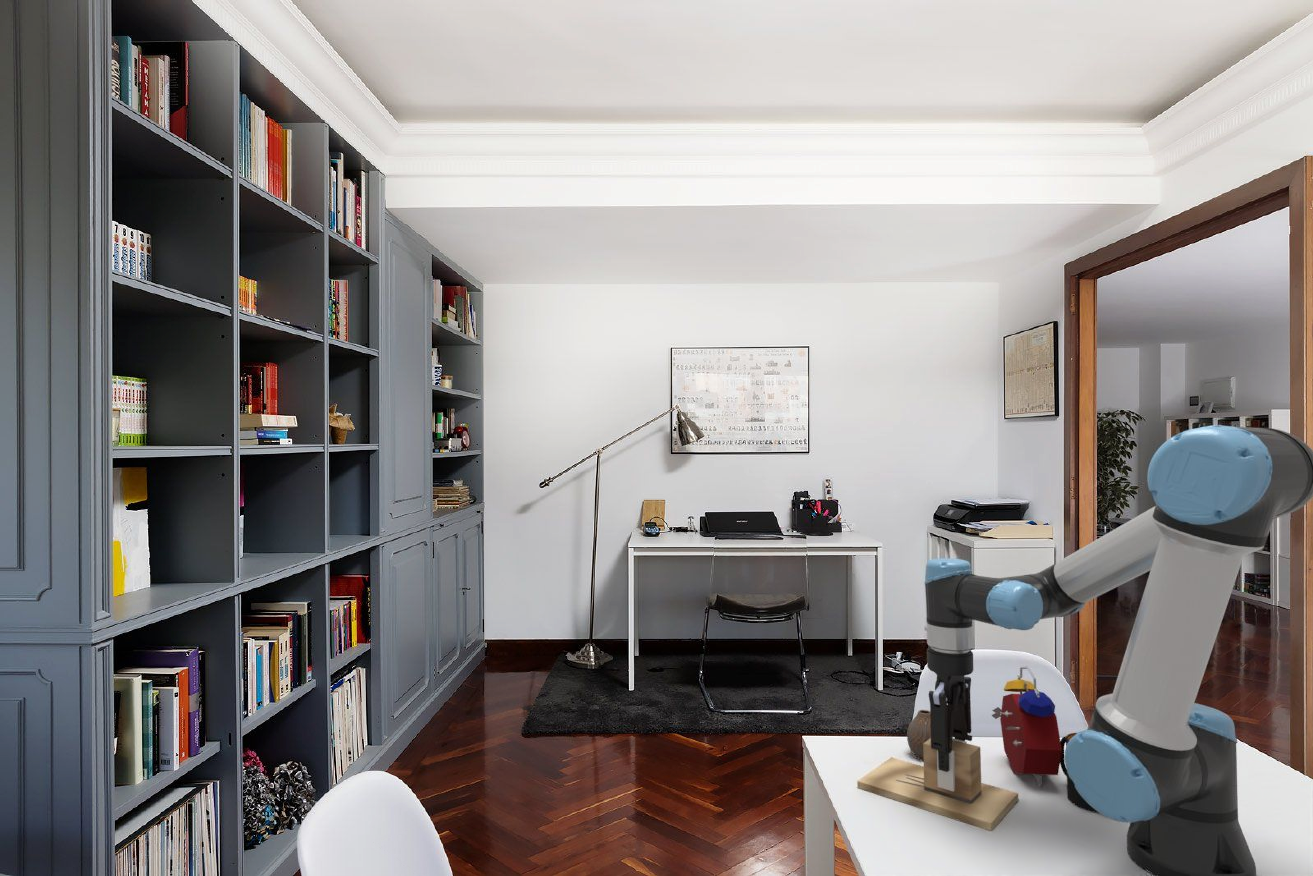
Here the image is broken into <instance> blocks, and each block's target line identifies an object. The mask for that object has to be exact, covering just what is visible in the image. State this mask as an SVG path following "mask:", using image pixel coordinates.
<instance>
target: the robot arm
mask: <svg viewBox="0 0 1313 876" xmlns="http://www.w3.org/2000/svg"><path fill="white" fill-rule="evenodd" d="M1149 462H1150V463H1149V466H1148V469H1147V476H1146V477H1147V487H1148V490H1149V492H1150V493H1151V494H1152V497H1153V500H1154V501H1153V502H1154V503H1155V506H1153V507H1151V508H1149V509H1147V510H1146V511H1144V512H1142V513H1141V514H1138V515H1137V516H1136V517H1134V518H1131V519H1130V520H1128V521H1126V522H1125V523H1123V524H1121V525H1120V526H1118V527H1116V528H1114V529H1113V530H1111V531H1109V532H1107V533H1106V534H1104V535H1102V536H1100V537H1099V538H1097V539H1095V540H1093V541H1092V542H1090V543H1089V544H1087V545H1085V546H1083V547H1081V548H1080V549H1078V550H1076V551H1074V552H1073V553H1071V554H1069V555H1067V556H1066V557H1063V558H1061V559H1060V560H1059V561H1057V562H1056V563H1054V564H1052V565H1049V567H1047V568H1045V569H1043V570H1041V571H1039V572H1037V573H1031V574H1030V573H1029V574H1022V575H1014V576H1006V577H1005V576H1004V577H989V576H982V575H978V574H977V575H976V574H973V571H972V567H971V563H970V562H969V561H968V560H966V559H959V558H950V557H949V558H945V557H943V558H942V557H940V558H932V559H930V560H928V561H927V562H926V564H925V576H924V577H925V580H924V587H925V590H924V591H925V603H926V604H925V608H926V611H925V612H926V618H925V619H926V620H925V621H926V625H925V626H924V628H923V629H924V630H925V632H926V644H927V645H928V648H927V649H926V666H927V668H928V669H929V670H930V671H931V672H933V673H935V675H936V681H935V684H934V691H933V690H929V692H928V699H929V706H930V708H929V709H930V710H929V711H930V721H931V748H932V749H935V750H937V777H938V787H940V788H943V789H947V790H950V791H953V792H954V791H955V757H954V751H952V740H955V741H959V742H963V743H967V744H968V742H967V741H969V742H972V740H973V735H971V732H972V710H971V708H972V707H971V684H972V678H971V677H970V676H968V675H971V674H972V673H973V672H974V653H973V651H972V649H973V648H974V633H973V632H974V631H973V630H974V629H973V621H976V622H980V623H985V624H989V625H992V626H993V625H994V626H998V627H1000V628H1003V629H1005V630H1016V631H1017V630H1018V631H1028V630H1032V629H1033V628H1034V627H1035V625H1036V624H1038V623H1039V622H1040V620H1045V619H1051V618H1064V617H1067V616H1070V615H1073V614H1076V613H1078V612H1080V611H1081V610H1082V609H1083V608H1084V607H1085V605H1086V603H1088V602H1090V601H1092V600H1094V599H1096V598H1097V597H1100V596H1102V595H1104V594H1106V593H1108V592H1109V591H1112V590H1114V589H1115V588H1117V587H1119V586H1122V585H1124V584H1125V583H1128V582H1130V581H1131V580H1133V579H1136V578H1138V577H1140V576H1142V575H1144V574H1146V573H1148V572H1149V574H1148V578H1147V580H1146V585H1145V588H1144V591H1143V594H1142V597H1141V601H1140V604H1139V607H1138V609H1137V613H1136V617H1135V620H1134V623H1133V626H1132V630H1131V633H1130V637H1129V639H1128V643H1127V645H1126V649H1125V653H1124V656H1123V659H1122V662H1121V665H1120V669H1119V672H1118V674H1117V675H1118V676H1117V678H1116V682H1115V685H1114V688H1113V692H1112V693H1109V694H1105V695H1102V696H1100V697H1099V698H1098V699H1097V700H1096V702H1095V705H1094V708H1093V711H1092V715H1091V718H1090V721H1089V724H1088V727H1087V729H1086V730H1085V729H1084V730H1083V729H1082V730H1080V731H1078V732H1075V733H1076V735H1075V736H1073V737H1072V738H1071V739H1070V740H1069V742H1068V743H1067V746H1066V745H1065V748H1064V760H1065V766H1066V769H1067V772H1068V775H1069V777H1070V778H1071V779H1072V781H1073V782H1074V784H1075V788H1076V790H1077V791H1078V793H1079V794H1080V795H1081V796H1082V798H1083V799H1084V800H1085V801H1086V802H1087V803H1088V804H1089V805H1090V806H1091V807H1093V808H1094V809H1095V810H1096V811H1098V812H1099V813H1098V814H1101V815H1102V816H1104V817H1106V818H1108V819H1111V820H1112V821H1116V822H1119V823H1126V824H1127V823H1129V827H1128V828H1127V832H1126V852H1127V854H1128V856H1129V857H1130V858H1131V859H1132V860H1133V862H1135V863H1136V864H1137V865H1138V866H1139V867H1141V868H1142V869H1144V870H1145V871H1147V872H1149V873H1151V874H1152V875H1154V876H1257V868H1256V867H1257V866H1256V862H1255V860H1254V858H1253V854H1252V852H1251V850H1250V848H1249V844H1248V843H1247V839H1246V838H1245V835H1244V832H1243V829H1242V827H1241V825H1240V822H1239V807H1238V803H1239V801H1238V762H1237V760H1238V757H1237V756H1238V755H1237V744H1238V739H1237V738H1236V728H1235V723H1234V721H1233V719H1232V718H1231V717H1230V715H1228V714H1226V713H1225V712H1223V711H1221V710H1219V709H1216V708H1214V707H1210V706H1207V705H1204V704H1200V703H1196V702H1195V701H1196V699H1197V696H1198V693H1199V689H1200V687H1201V683H1202V681H1203V678H1204V674H1205V672H1206V669H1207V665H1208V663H1209V660H1210V657H1211V655H1212V652H1213V649H1214V645H1215V642H1216V639H1217V638H1218V637H1217V636H1218V633H1219V631H1220V627H1221V625H1222V621H1223V619H1224V616H1225V614H1226V610H1227V606H1228V604H1229V601H1230V598H1231V595H1232V593H1233V589H1234V586H1235V583H1236V580H1237V576H1238V574H1239V571H1240V569H1241V566H1242V562H1243V559H1244V557H1245V556H1247V555H1250V554H1253V553H1255V552H1257V551H1259V550H1262V549H1264V547H1265V545H1266V542H1267V540H1268V537H1269V533H1270V531H1271V528H1272V525H1273V521H1274V520H1275V519H1278V518H1280V517H1283V516H1286V515H1289V514H1291V513H1293V512H1296V511H1298V510H1299V509H1301V508H1303V507H1304V506H1306V504H1307V503H1308V502H1310V501H1311V500H1312V499H1313V449H1312V448H1311V447H1310V446H1309V445H1308V444H1307V443H1306V442H1305V441H1303V440H1302V439H1301V438H1299V437H1297V436H1295V435H1294V434H1293V433H1291V432H1287V431H1284V430H1281V429H1279V428H1278V429H1276V428H1272V427H1260V426H1259V427H1258V426H1257V427H1249V426H1248V427H1247V426H1246V427H1244V426H1231V425H1230V426H1229V425H1221V424H1217V425H1207V426H1202V427H1197V428H1192V429H1187V430H1184V431H1182V432H1180V433H1177V434H1176V435H1173V436H1172V437H1170V438H1168V439H1167V440H1165V442H1164V443H1162V445H1160V447H1159V448H1158V449H1157V450H1156V451H1155V452H1154V455H1153V456H1152V458H1151V460H1150V461H1149Z"/></svg>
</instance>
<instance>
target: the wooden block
mask: <svg viewBox="0 0 1313 876" xmlns="http://www.w3.org/2000/svg"><path fill="white" fill-rule="evenodd" d="M952 751H954V757H955V791H954V792H953V791H950V790H947V789H943V788H940V787H938V777H937V750H935V749H932V748H931V738H930V739H929V740H927V741H926V742H925V743H923V758H924V759H923V766H924V790H927V791H930V792H933V793H937V794H940V795H943V796H947V797H950V798H953V799H957V800H960V801H963V802H966V803H970V804H972V803H973V802H974V801H975V800H976V799H977V798H978V797H979V796H980V795H981V783H982V763H981V762H982V761H981V760H982V757H981V756H982V755H981V746H978V745H975V744H970V743H968V742H967V743H963V742H959V741H955V740H952Z"/></svg>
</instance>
